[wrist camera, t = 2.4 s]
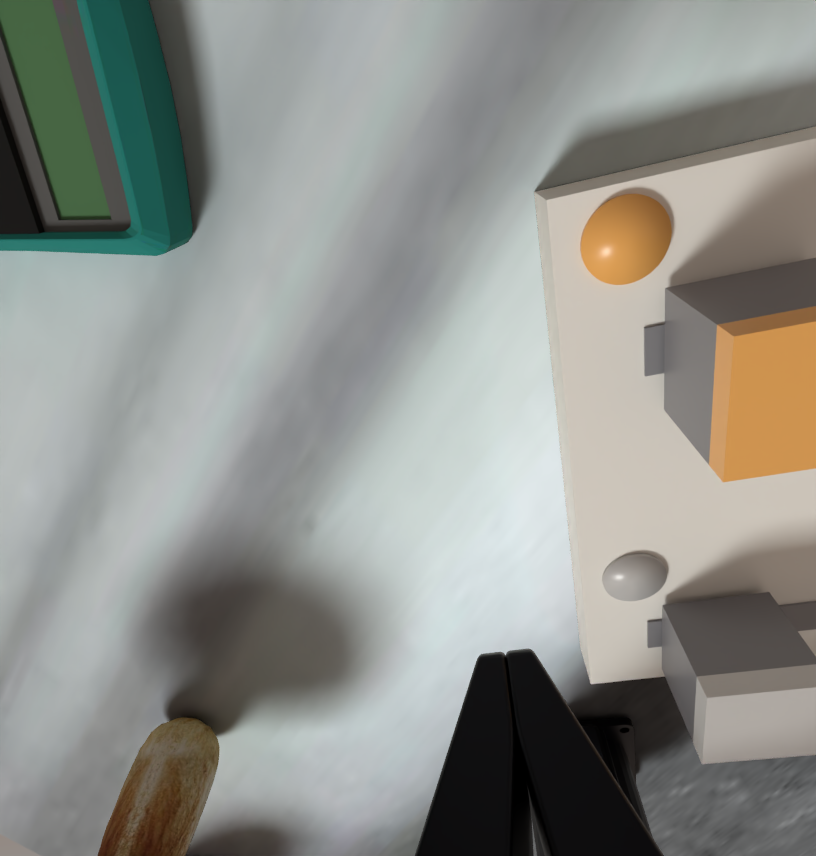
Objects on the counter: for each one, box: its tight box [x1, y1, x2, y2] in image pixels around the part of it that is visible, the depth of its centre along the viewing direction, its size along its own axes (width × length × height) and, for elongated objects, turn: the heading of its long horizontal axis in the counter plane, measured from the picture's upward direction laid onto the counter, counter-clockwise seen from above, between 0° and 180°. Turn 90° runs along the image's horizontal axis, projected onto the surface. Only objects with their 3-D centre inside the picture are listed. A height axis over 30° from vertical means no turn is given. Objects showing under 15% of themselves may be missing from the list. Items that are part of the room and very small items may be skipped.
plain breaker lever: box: [662, 592, 816, 764], centre depth 20 cm, size 4×4×4 cm
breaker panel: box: [534, 126, 816, 684], centre depth 19 cm, size 21×15×2 cm
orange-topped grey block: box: [664, 258, 816, 482], centre depth 14 cm, size 4×4×4 cm
